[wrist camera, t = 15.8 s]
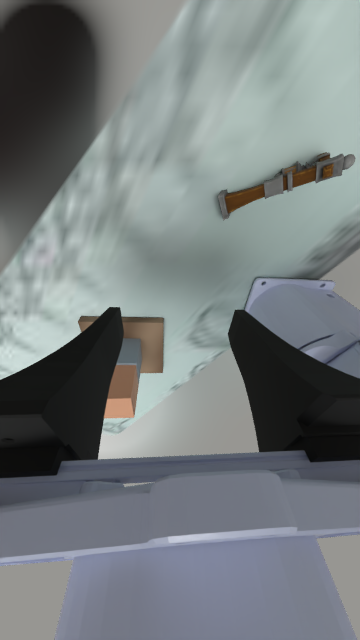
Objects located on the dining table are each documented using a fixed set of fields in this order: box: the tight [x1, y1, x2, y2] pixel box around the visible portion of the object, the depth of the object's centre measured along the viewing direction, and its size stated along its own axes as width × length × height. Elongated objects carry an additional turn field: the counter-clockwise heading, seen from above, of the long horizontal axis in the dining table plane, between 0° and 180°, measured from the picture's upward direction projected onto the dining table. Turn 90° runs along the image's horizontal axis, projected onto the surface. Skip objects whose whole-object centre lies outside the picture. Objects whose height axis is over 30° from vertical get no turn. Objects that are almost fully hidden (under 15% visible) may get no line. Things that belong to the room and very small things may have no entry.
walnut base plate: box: [78, 316, 163, 373], centre depth 26 cm, size 10×10×1 cm
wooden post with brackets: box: [218, 152, 355, 220], centre depth 14 cm, size 2×8×5 cm, turn 112°
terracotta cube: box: [104, 365, 138, 418], centre depth 21 cm, size 4×4×4 cm
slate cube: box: [116, 338, 142, 384], centre depth 24 cm, size 4×4×4 cm
